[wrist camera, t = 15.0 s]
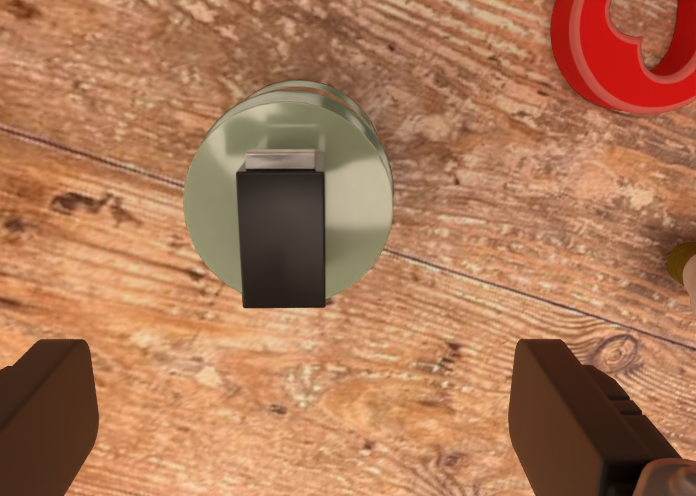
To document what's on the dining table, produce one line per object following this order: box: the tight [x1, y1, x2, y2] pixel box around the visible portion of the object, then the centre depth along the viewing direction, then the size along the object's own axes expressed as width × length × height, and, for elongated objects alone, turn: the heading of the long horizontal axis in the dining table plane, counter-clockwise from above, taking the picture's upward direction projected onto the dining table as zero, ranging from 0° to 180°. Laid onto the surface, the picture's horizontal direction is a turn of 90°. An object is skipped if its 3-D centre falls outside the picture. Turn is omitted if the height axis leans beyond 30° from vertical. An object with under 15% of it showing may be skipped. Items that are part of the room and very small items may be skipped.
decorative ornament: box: [551, 0, 696, 114], centre depth 32 cm, size 10×10×3 cm
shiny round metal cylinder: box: [183, 80, 394, 299], centre depth 30 cm, size 10×10×11 cm
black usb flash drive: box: [236, 149, 326, 308], centre depth 23 cm, size 6×3×4 cm, turn 0°
